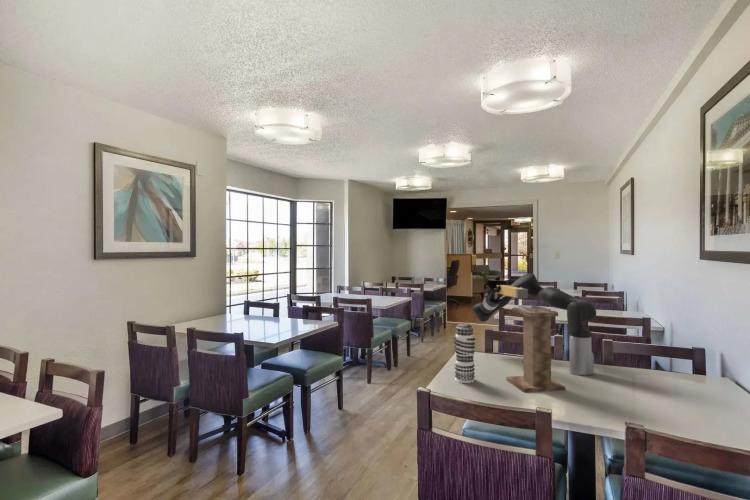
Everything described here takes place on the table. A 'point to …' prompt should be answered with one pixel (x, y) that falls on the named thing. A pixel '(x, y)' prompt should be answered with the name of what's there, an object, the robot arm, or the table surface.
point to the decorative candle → (464, 353)
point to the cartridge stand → (536, 351)
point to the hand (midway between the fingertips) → (504, 287)
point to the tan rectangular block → (513, 291)
